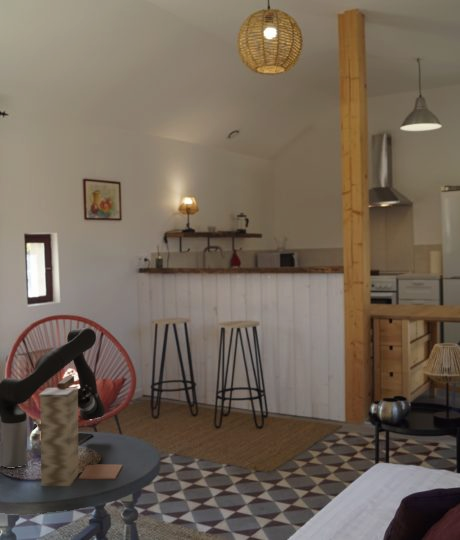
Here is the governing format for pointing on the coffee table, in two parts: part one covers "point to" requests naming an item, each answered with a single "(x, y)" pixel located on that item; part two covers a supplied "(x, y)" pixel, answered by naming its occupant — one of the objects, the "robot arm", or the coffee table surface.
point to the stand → (59, 440)
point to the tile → (101, 471)
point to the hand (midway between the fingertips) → (75, 387)
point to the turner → (60, 389)
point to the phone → (83, 437)
